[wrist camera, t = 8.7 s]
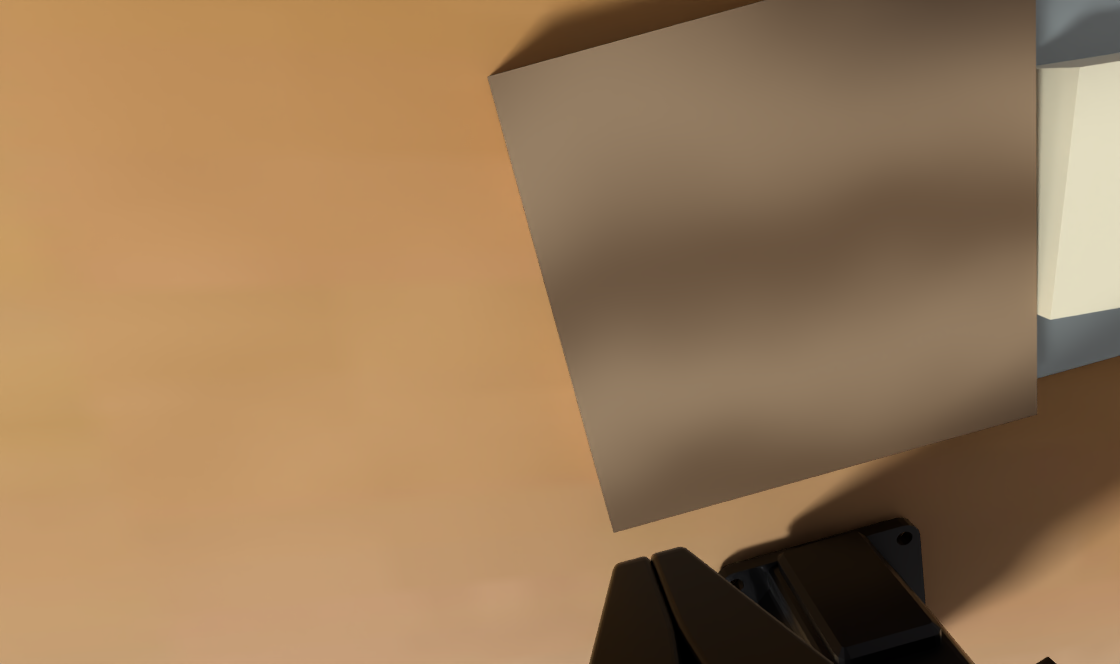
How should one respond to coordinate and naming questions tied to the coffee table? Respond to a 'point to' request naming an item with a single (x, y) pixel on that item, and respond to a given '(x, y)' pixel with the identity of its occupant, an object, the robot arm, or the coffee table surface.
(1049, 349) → the mat
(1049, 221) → the tile
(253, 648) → the coffee table surface
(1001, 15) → the plate
